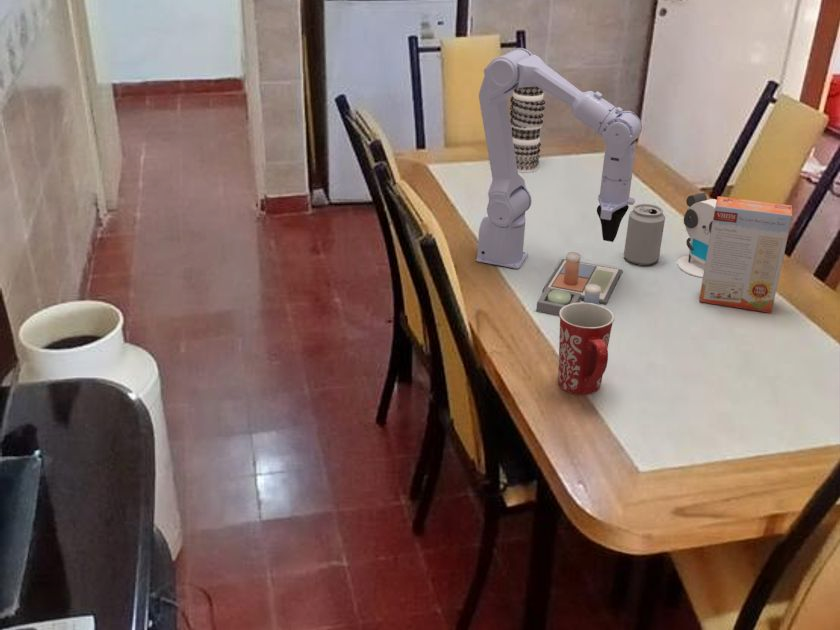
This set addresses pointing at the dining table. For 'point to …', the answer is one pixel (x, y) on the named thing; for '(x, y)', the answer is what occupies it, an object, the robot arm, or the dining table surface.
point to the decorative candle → (527, 126)
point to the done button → (559, 297)
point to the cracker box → (745, 253)
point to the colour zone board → (587, 279)
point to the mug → (583, 346)
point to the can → (644, 234)
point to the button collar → (554, 307)
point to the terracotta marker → (572, 268)
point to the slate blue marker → (592, 294)
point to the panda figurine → (697, 233)
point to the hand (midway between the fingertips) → (608, 239)
